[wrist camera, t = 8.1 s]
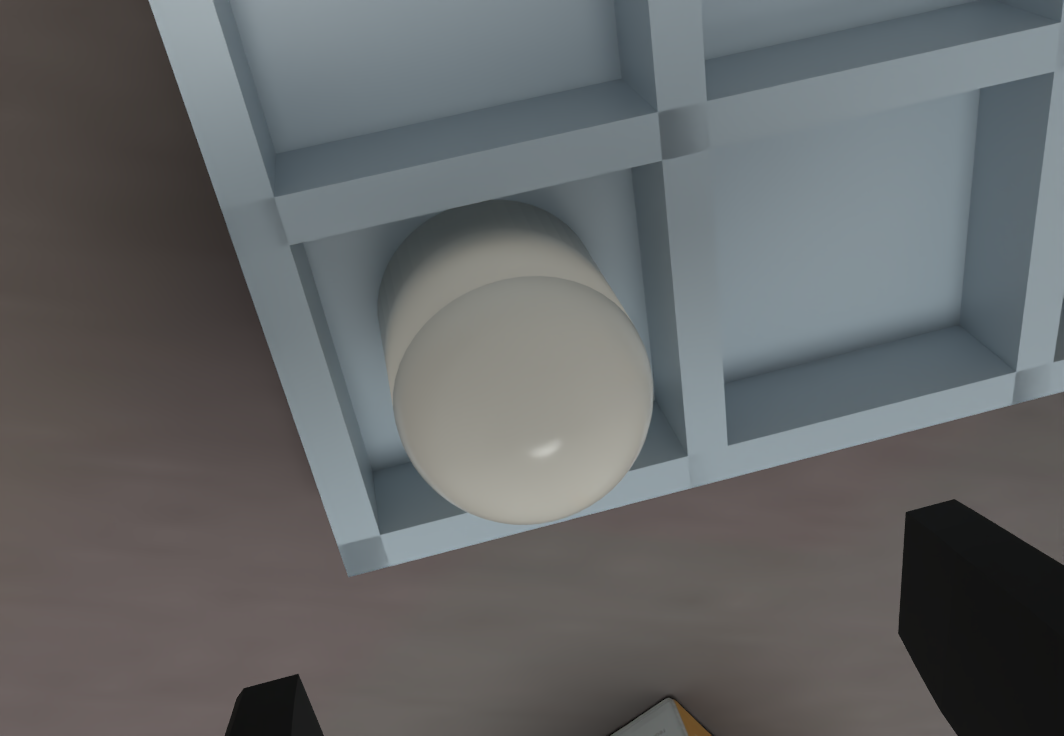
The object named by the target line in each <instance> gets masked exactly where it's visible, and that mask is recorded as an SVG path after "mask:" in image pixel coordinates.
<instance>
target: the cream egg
mask: <svg viewBox="0 0 1064 736" xmlns="http://www.w3.org/2000/svg"><path fill="white" fill-rule="evenodd" d="M377 305H378V321H379V327H380V333H381V339H382V345H383V351H384V357H385V363H386V369H387V375H388V381H389V387H390V393H391V399H392V405H393V411H394V417H395V423H396V426H397V430H398V433H399V436H400V439H401V442H402V445H403V447H404V449H405V451H406V453H407V455H408V457H409V459H410V460H411V462H412V464H413V466H414V467H415V468H416V470H417V471H418V473H419V474H420V475H421V477H422V478H423V479H424V480H425V481H426V482H427V483H428V484H429V485H430V486H431V487H432V488H433V489H434V490H435V491H436V492H437V493H438V494H439V495H440V496H442V497H443V498H444V499H446V500H447V501H449V502H450V503H452V504H453V505H455V506H456V507H458V508H460V509H462V510H464V511H465V512H467V513H469V514H472V515H475V516H477V517H480V518H483V519H486V520H490V521H494V522H498V523H504V524H512V525H532V524H541V523H547V522H552V521H556V520H559V519H563V518H566V517H568V516H571V515H573V514H576V513H578V512H580V511H582V510H584V509H586V508H588V507H590V506H591V505H593V504H594V503H596V502H597V501H599V500H600V499H602V498H603V497H604V496H605V495H607V494H608V493H609V492H610V491H611V490H612V489H613V488H614V487H615V486H616V485H617V484H618V483H619V482H620V481H621V480H622V479H623V478H624V476H625V475H626V474H627V472H628V471H629V470H630V468H631V467H632V465H633V463H634V462H635V460H636V458H637V457H638V455H639V453H640V451H641V449H642V447H643V444H644V442H645V439H646V436H647V432H648V429H649V426H650V422H651V417H652V411H653V378H652V372H651V367H650V362H649V358H648V355H647V352H646V349H645V346H644V344H643V342H642V340H641V338H640V336H639V334H638V332H637V330H636V328H635V326H634V324H633V323H632V321H631V319H630V318H629V316H628V315H627V313H626V311H625V310H624V308H623V307H622V305H621V303H620V302H619V300H618V299H617V297H616V295H615V294H614V292H613V290H612V289H611V287H610V286H609V284H608V282H607V281H606V279H605V278H604V276H603V274H602V273H601V271H600V270H599V268H598V266H597V265H596V263H595V262H594V260H593V258H592V257H591V255H590V253H589V252H588V250H587V249H586V247H585V245H584V244H583V243H582V241H581V240H580V239H579V237H578V236H577V234H576V233H575V232H574V231H573V230H572V229H571V228H570V227H569V226H568V225H567V224H565V223H564V222H563V221H561V220H560V219H559V218H557V217H556V216H554V215H552V214H551V213H549V212H547V211H545V210H543V209H541V208H538V207H535V206H533V205H530V204H526V203H522V202H518V201H510V200H487V201H483V202H478V203H474V204H470V205H465V206H461V207H456V208H452V209H448V210H446V211H443V212H441V213H439V214H438V215H436V216H434V217H432V218H430V219H429V220H427V221H426V222H425V223H423V224H422V225H421V226H419V227H418V228H416V229H415V230H414V231H413V232H412V233H411V234H410V235H409V236H408V237H407V238H406V239H405V240H404V241H403V243H402V244H401V245H400V246H399V248H398V249H397V250H396V252H395V253H394V255H393V256H392V258H391V260H390V261H389V263H388V265H387V268H386V270H385V272H384V274H383V277H382V281H381V284H380V288H379V295H378V302H377Z"/></svg>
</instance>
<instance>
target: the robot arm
mask: <svg viewBox="0 0 1064 736" xmlns="http://www.w3.org/2000/svg"><path fill="white" fill-rule="evenodd" d="M898 634H899V636H900V637H901V639H902V641H903V643H904V645H905V647H906V649H907V651H908V653H909V655H910V656H911V658H912V660H913V662H914V664H915V666H916V668H917V670H918V672H919V673H920V675H921V677H922V679H923V681H924V682H925V684H926V686H927V688H928V690H929V691H930V693H931V695H932V697H933V698H934V700H935V702H936V704H937V706H938V707H939V709H940V711H941V712H942V714H943V715H944V717H945V718H946V720H947V721H948V722H949V724H950V725H951V727H952V728H953V730H954V731H955V733H956V734H957V735H958V736H1064V565H1062V564H1061V563H1059V562H1057V561H1056V560H1054V559H1052V558H1051V557H1049V556H1047V555H1046V554H1044V553H1042V552H1041V551H1039V550H1038V549H1036V548H1034V547H1033V546H1031V545H1029V544H1028V543H1026V542H1024V541H1023V540H1021V539H1019V538H1018V537H1016V536H1015V535H1013V534H1011V533H1010V532H1008V531H1006V530H1005V529H1003V528H1002V527H1000V526H998V525H997V524H995V523H993V522H992V521H990V520H988V519H987V518H985V517H983V516H982V515H980V514H979V513H977V512H975V511H974V510H972V509H970V508H968V507H967V506H965V505H963V504H962V503H960V502H958V501H957V500H955V499H953V500H950V501H946V502H942V503H938V504H935V505H931V506H927V507H923V508H919V509H916V510H912V511H908V512H906V518H905V534H904V550H903V566H902V582H901V598H900V614H899V630H898ZM225 736H324V735H323V732H322V730H321V728H320V725H319V723H318V720H317V718H316V715H315V713H314V711H313V708H312V706H311V703H310V701H309V699H308V696H307V694H306V691H305V689H304V686H303V684H302V682H301V679H300V677H299V674H296V675H292V676H288V677H285V678H281V679H277V680H273V681H270V682H266V683H262V684H258V685H255V686H251V687H247V688H244V689H243V690H242V692H241V693H240V694H239V696H238V697H237V699H236V702H235V705H234V709H233V712H232V715H231V718H230V721H229V724H228V727H227V730H226V733H225Z"/></svg>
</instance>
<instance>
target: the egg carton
mask: <svg viewBox="0 0 1064 736" xmlns="http://www.w3.org/2000/svg"><path fill="white" fill-rule="evenodd" d="M149 3H150V6H151V8H152V11H153V14H154V17H155V20H156V23H157V26H158V29H159V32H160V34H161V37H162V40H163V43H164V46H165V49H166V52H167V55H168V57H169V60H170V63H171V66H172V69H173V72H174V75H175V78H176V81H177V83H178V86H179V89H180V92H181V95H182V98H183V101H184V104H185V107H186V109H187V112H188V115H189V118H190V121H191V124H192V127H193V130H194V133H195V135H196V138H197V141H198V144H199V147H200V150H201V153H202V156H203V158H204V161H205V164H206V167H207V170H208V173H209V176H210V179H211V182H212V184H213V187H214V190H215V193H216V196H217V199H218V202H219V205H220V208H221V210H222V213H223V216H224V219H225V222H226V225H227V228H228V231H229V234H230V236H231V239H232V242H233V245H234V248H235V251H236V254H237V257H238V260H239V262H240V265H241V268H242V271H243V274H244V277H245V280H246V283H247V285H248V288H249V291H250V294H251V297H252V300H253V303H254V306H255V309H256V311H257V314H258V317H259V320H260V323H261V326H262V329H263V332H264V335H265V337H266V340H267V343H268V346H269V349H270V352H271V355H272V358H273V361H274V363H275V366H276V369H277V372H278V375H279V378H280V381H281V384H282V386H283V389H284V392H285V395H286V398H287V401H288V404H289V407H290V410H291V412H292V415H293V418H294V421H295V424H296V427H297V430H298V433H299V436H300V438H301V441H302V444H303V447H304V450H305V453H306V456H307V459H308V462H309V464H310V467H311V470H312V473H313V476H314V479H315V482H316V485H317V488H318V490H319V493H320V496H321V499H322V502H323V505H324V508H325V511H326V513H327V516H328V519H329V522H330V525H331V528H332V531H333V534H334V537H335V539H336V542H337V545H338V548H339V551H340V554H341V557H342V560H343V563H344V565H345V568H346V571H347V574H348V577H351V576H355V575H359V574H362V573H366V572H370V571H374V570H378V569H382V568H386V567H389V566H393V565H397V564H401V563H405V562H409V561H412V560H416V559H420V558H424V557H428V556H432V555H436V554H439V553H443V552H447V551H451V550H455V549H459V548H463V547H466V546H470V545H474V544H478V543H482V542H486V541H490V540H493V539H497V538H501V537H505V536H509V535H513V534H516V533H520V532H524V531H528V530H532V529H536V528H540V527H543V526H547V525H551V524H555V523H559V522H563V521H567V520H570V519H574V518H578V517H582V516H586V515H590V514H594V513H597V512H601V511H605V510H609V509H613V508H617V507H620V506H624V505H628V504H632V503H636V502H640V501H644V500H647V499H651V498H655V497H659V496H663V495H667V494H671V493H674V492H678V491H682V490H686V489H690V488H694V487H697V486H701V485H705V484H709V483H713V482H717V481H721V480H724V479H728V478H732V477H736V476H740V475H744V474H748V473H751V472H755V471H759V470H763V469H767V468H771V467H775V466H778V465H782V464H786V463H790V462H794V461H798V460H801V459H805V458H809V457H813V456H817V455H821V454H825V453H828V452H832V451H836V450H840V449H844V448H848V447H852V446H855V445H859V444H863V443H867V442H871V441H875V440H879V439H882V438H886V437H890V436H894V435H898V434H902V433H905V432H909V431H913V430H917V429H921V428H925V427H929V426H932V425H936V424H940V423H944V422H948V421H952V420H956V419H959V418H963V417H967V416H971V415H975V414H979V413H982V412H986V411H990V410H994V409H998V408H1002V407H1006V406H1009V405H1013V404H1017V403H1021V402H1025V401H1029V400H1033V399H1036V398H1040V397H1044V396H1048V395H1052V394H1056V393H1060V392H1063V391H1064V0H149ZM487 200H510V201H518V202H522V203H526V204H530V205H533V206H535V207H538V208H541V209H543V210H545V211H547V212H549V213H551V214H552V215H554V216H556V217H557V218H559V219H560V220H561V221H563V222H564V223H565V224H567V225H568V226H569V227H570V228H571V229H572V230H573V231H574V232H575V233H576V234H577V236H578V237H579V239H580V240H581V241H582V243H583V244H584V245H585V247H586V249H587V250H588V252H589V253H590V255H591V257H592V258H593V260H594V262H595V263H596V265H597V266H598V268H599V270H600V271H601V273H602V274H603V276H604V278H605V279H606V281H607V282H608V284H609V286H610V287H611V289H612V290H613V292H614V294H615V295H616V297H617V299H618V300H619V302H620V303H621V305H622V307H623V308H624V310H625V311H626V313H627V315H628V316H629V318H630V319H631V321H632V323H633V324H634V326H635V328H636V330H637V332H638V334H639V336H640V338H641V340H642V342H643V344H644V346H645V349H646V352H647V355H648V358H649V362H650V367H651V372H652V378H653V411H652V417H651V422H650V426H649V429H648V432H647V436H646V439H645V442H644V444H643V447H642V449H641V451H640V453H639V455H638V457H637V458H636V460H635V462H634V463H633V465H632V467H631V468H630V470H629V471H628V472H627V474H626V475H625V476H624V478H623V479H622V480H621V481H620V482H619V483H618V484H617V485H616V486H615V487H614V488H613V489H612V490H611V491H610V492H609V493H608V494H607V495H605V496H604V497H603V498H602V499H600V500H599V501H597V502H596V503H594V504H593V505H591V506H590V507H588V508H586V509H584V510H582V511H580V512H578V513H576V514H573V515H571V516H568V517H566V518H563V519H559V520H556V521H552V522H547V523H541V524H532V525H512V524H504V523H498V522H494V521H490V520H486V519H483V518H480V517H477V516H475V515H472V514H469V513H467V512H465V511H464V510H462V509H460V508H458V507H456V506H455V505H453V504H452V503H450V502H449V501H447V500H446V499H444V498H443V497H442V496H440V495H439V494H438V493H437V492H436V491H435V490H434V489H433V488H432V487H431V486H430V485H429V484H428V483H427V482H426V481H425V480H424V479H423V478H422V477H421V475H420V474H419V473H418V471H417V470H416V468H415V467H414V466H413V464H412V462H411V460H410V459H409V457H408V455H407V453H406V451H405V449H404V447H403V445H402V442H401V439H400V436H399V433H398V430H397V426H396V423H395V417H394V411H393V405H392V399H391V393H390V387H389V381H388V375H387V369H386V363H385V357H384V351H383V345H382V339H381V333H380V327H379V321H378V305H377V302H378V295H379V288H380V284H381V281H382V277H383V274H384V272H385V270H386V268H387V265H388V263H389V261H390V260H391V258H392V256H393V255H394V253H395V252H396V250H397V249H398V248H399V246H400V245H401V244H402V243H403V241H404V240H405V239H406V238H407V237H408V236H409V235H410V234H411V233H412V232H413V231H414V230H415V229H416V228H418V227H419V226H421V225H422V224H423V223H425V222H426V221H427V220H429V219H430V218H432V217H434V216H436V215H438V214H439V213H441V212H443V211H446V210H448V209H452V208H456V207H461V206H465V205H470V204H474V203H478V202H483V201H487Z"/></svg>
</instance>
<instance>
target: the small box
mask: <svg viewBox="0 0 1064 736" xmlns="http://www.w3.org/2000/svg"><path fill="white" fill-rule="evenodd" d="M611 736H712V735H711V734H710V733H708V732H707V731H706V730H705V729H704V728H703V727H702V726H701V725H700V724H699V723H698V722H697V721H696V720H695V719H694V718H693V717H692V716H691V715H690V714H689V713H688V712H687V711H686V710H685V709H684V708H683V707H682V706H681V705H680V704H679V703H678V702H677V701H675V700H674V699H670V698H666V699H664V700H663V701H661V702H660V703H659V704H657V705H656V706H654V707H653V708H651V709H650V710H648V711H647V712H645V713H644V714H642V715H641V716H639V717H638V718H636V719H635V720H633V721H632V722H630V723H629V724H627V725H626V726H624V727H623V728H621V729H620V730H618V731H617V732H615V733H614V734H612V735H611Z"/></svg>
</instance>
